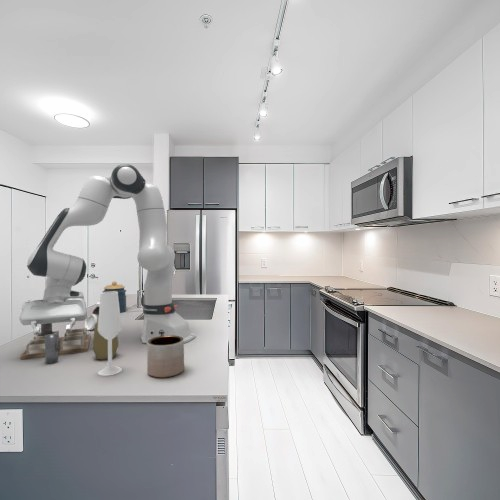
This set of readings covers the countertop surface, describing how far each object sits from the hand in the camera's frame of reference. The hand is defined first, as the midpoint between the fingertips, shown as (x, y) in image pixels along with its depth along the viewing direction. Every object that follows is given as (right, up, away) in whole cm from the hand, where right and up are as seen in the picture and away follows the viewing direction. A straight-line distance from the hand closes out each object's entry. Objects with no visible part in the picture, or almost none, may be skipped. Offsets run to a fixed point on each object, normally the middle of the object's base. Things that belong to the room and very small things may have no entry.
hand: (52, 332), depth 108 cm
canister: (-12, -8, +77) cm, 78 cm away
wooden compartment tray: (-5, -9, +12) cm, 16 cm away
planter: (+42, -9, -12) cm, 44 cm away
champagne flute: (+24, -9, -11) cm, 28 cm away
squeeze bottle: (+18, -9, +1) cm, 20 cm away
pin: (+2, -9, -4) cm, 10 cm away
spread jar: (-3, -9, +40) cm, 41 cm away
